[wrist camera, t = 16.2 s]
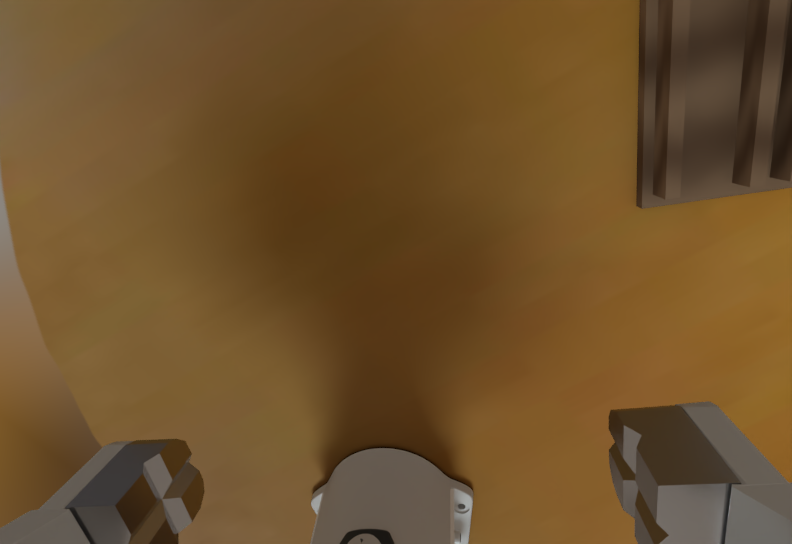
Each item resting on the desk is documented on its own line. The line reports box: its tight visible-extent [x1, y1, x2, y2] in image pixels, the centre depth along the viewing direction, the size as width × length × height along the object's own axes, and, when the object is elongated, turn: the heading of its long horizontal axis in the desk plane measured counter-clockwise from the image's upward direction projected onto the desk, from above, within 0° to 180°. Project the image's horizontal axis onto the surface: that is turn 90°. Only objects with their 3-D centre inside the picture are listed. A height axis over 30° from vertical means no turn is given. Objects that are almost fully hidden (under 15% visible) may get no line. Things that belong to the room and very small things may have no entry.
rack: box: [637, 0, 792, 209], centre depth 27 cm, size 20×16×3 cm
